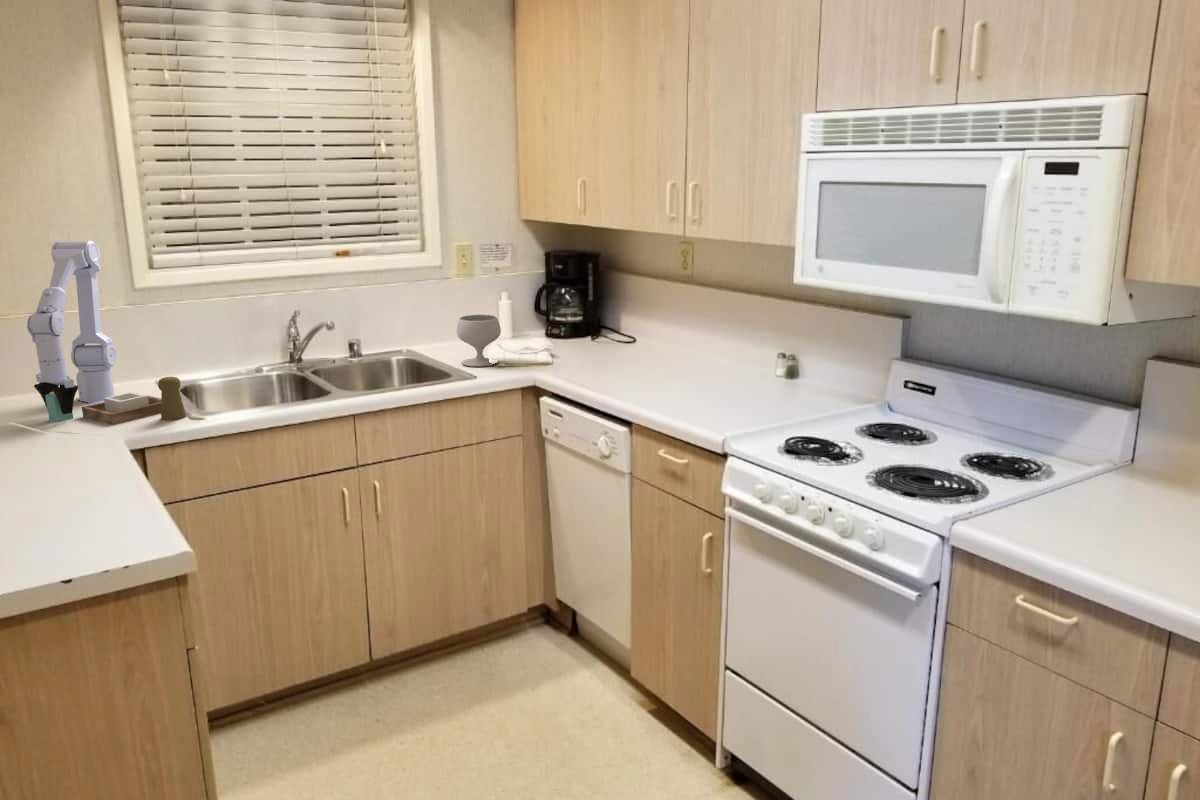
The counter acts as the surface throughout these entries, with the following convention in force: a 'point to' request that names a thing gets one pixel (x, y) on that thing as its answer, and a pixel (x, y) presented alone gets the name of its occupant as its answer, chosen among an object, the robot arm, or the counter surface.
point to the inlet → (125, 402)
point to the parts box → (122, 412)
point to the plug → (56, 409)
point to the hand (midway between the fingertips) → (60, 411)
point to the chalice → (478, 335)
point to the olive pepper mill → (171, 399)
